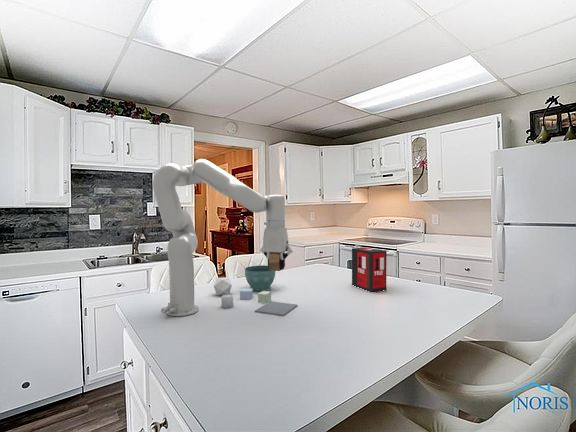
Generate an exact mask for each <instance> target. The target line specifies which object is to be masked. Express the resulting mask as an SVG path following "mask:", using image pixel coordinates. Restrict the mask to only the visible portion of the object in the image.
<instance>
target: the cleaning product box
mask: <svg viewBox="0 0 576 432" xmlns="http://www.w3.org/2000/svg"><path fill="white" fill-rule="evenodd" d="M352 285H354V286H356V287H355V288H357V287H359V288H358V289H360V288H362V289H364V290H363V291H365V290H367V291H366V292H368V291H370V292H369V293H371V292H376V293H378V292H377V291H383V290H386V291H387V250H382V249H378V248H370V247H365V246H364V247H354V248H351V286H352ZM354 286H353V287H354ZM362 289H361V290H362ZM383 292H384V291H383Z"/></svg>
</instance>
